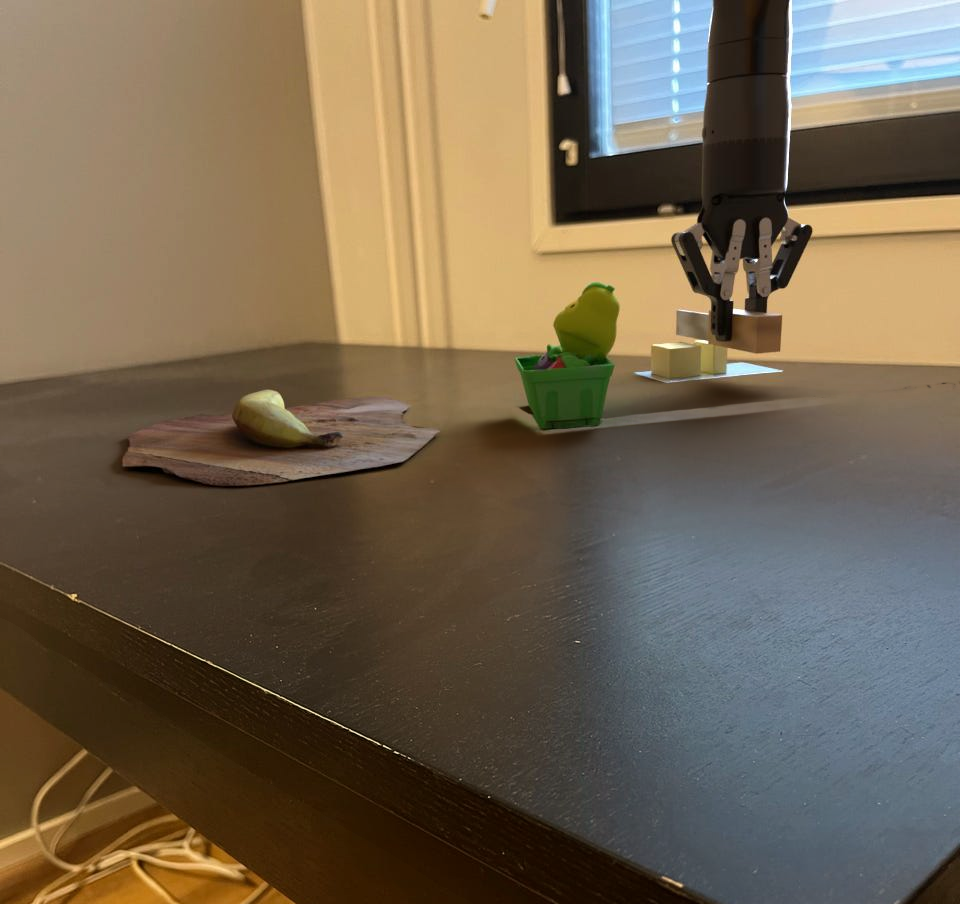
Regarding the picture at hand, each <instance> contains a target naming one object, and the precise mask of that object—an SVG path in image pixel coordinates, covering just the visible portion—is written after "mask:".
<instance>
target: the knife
mask: <svg viewBox="0 0 960 904" xmlns="http://www.w3.org/2000/svg"><path fill="white" fill-rule="evenodd" d="M675 316H676V317H675V318H676V319H675V320H676V322H675V326H676V327H675V335H676V336H680V337H685V338H690V339H695V340H705V341H708V344H711V345H716V346H721V347H726V348H727V349H731V350H737V351H742V352H746V353H751V354H757V355H759V354H771V353H778V352H779V353H780V352H781V348H782V347H781V346H782V331H783V330H782V328H783V314H778V313H771V312H767V313H764V312H756V311H747V310H745V309H738V308H733V316H732V338H731V341H728V342H721V341H717V340H716V338H715V335H712V332H711V309H709V310H708V313H706V312H701V311H700V312H699V311H692V310H685V309H676V313H675Z"/></svg>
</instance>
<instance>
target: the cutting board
mask: <svg viewBox="0 0 960 904" xmlns="http://www.w3.org/2000/svg"><path fill="white" fill-rule="evenodd" d="M410 407H411V405H410V404H407V403H405V402H401V401H400V400H395V399H392V398H390V397H384V396H383V397H382V396H360V397H359V396H358V397H348V398H347V397H345V398H339V399H334V400H328V401H322V402H316V403H309V404H304V405H296V406H291V407H285V402H284V400H283V397H282V396H281V394H280V393H279V392H278V391H276V390H273V389H262V390H258V391H254V392H252V393H251V392H250V393H248V394H245V395H244V396H242V397H241V398H240V399H239V400H238V402H237V403H236V404H235V406H234V409H233V412H232V413H227V414H196V415H193V416H189V417H181V418H176V419H170V420H164V421H162V422H159V423H156V424H153V425H150V426H147V427H145V428H143V429H140V430H137V431H134V432H132V433H130V434H128V435H126V438H127V439H128V441H129V445H128V448H127V450H126V452H125V453H124V455H123V456H122V467H126V468H127V467H128V468H137V467H156V468H161V469H162V471H163V472H164V473H166V474H169V475H176V476H177V477H178V478H180V479H185V480H187V481H195V482H198V483H201V484H204V485H211V486H216V487H229V486H237V487H249V486H255V485H256V486H257V485H268V484H275V483H276V484H277V483H286V482H292V481H295V480H301V479H305V478H313V477H319V476H326V475H332V474H333V475H334V474H341V473H346V472H353V471H359V470H364V469H372V468H378V467H384V466H388V465H392V464H397V463H403V462H405V461H406V460H408V459H409V458H411V456H413V455H414V454H416V453H417V452H418V451H419V450H421V449H422V448H423V447H424V446H425V445H427V444H428V442H430V440H432V439H433V438H434V436H435V435H436V434H438V433H440V432H442V430H441V429H440V430H439V429H436V428H431V427H425V426H424V427H423V426H417V425H410V424H407V423H403V417H404V414H403V412H405V411H407V410H409V409H410ZM407 408H408V409H407Z"/></svg>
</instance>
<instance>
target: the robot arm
mask: <svg viewBox="0 0 960 904" xmlns="http://www.w3.org/2000/svg"><path fill="white" fill-rule="evenodd" d="M792 22H793V21H792V0H712V12H711V17H710V24H709V32H708V39H707V40H708V41H707V67H706V69H707V70H706V72H707V73H706V74H707V75H706V76H707V77H706V83H707V85H706V93H705V101H704V108H703V119H702V122H703V123H702V130H701V139H702V165H701V200H702V201H701V202H702V205H701V209H700V212H699V213H698V215H697V218H696V223H695V224H693V225H691V226H690V227H688V228H687V229H685V230H684V231H681V232H675V233H673V234H672V235H671V238H670V240H671V241H670V242H671V245H672V247H673V249H674V251H675V254H676V256H677V258H678V261H679V263H680V265H681V267H682V269H683V272H684V275H685V277H686V279H687V281H688V283H689V285H690V288H691V291H693V293H695V294H699V295H702V296H705V297H707V298H709V300H710V310H711V332H712V335H715V338H716V340H717V341H721V342H728V341H731V338H732V316H733V309H734V302H735V301H734V300H732V299H731V298H732V297H733V293H734V286H735V280H736V279H735V278H736V274H737V273H738V272H739V269H740V261H741V260H742V268H743V272H744V273H745V279H746V292H747V294H748V297H745V298H744V310H747V311H756V312H764V313H768V300H769V297H770V295H771V294H772V293H774V292H776V291H778V290H780V289H781V290H783V289H786V288H787V287H788V285H789V283H790V281H791V279H792V277H793V275H794V273H795V271H796V268H797V267H798V264H799V263H800V260H801V258H802V256H803V254H804V252H805V250H806V248H807V245H808V243H809V242H810V239H811V237H812V235H813V232H814V231H813V227H812V225H810V224H801V223H799V222H797V221H795V220H793V218H790V217H789V210H788V208H787V206H786V202H785V195H786V192H787V187H788V173H789V154H790V153H789V152H790V136H791V120H792V119H791V116H792V100H791V99H792V98H791V83H790V82H791V81H790V80H791V79H790V78H791V77H790V75H791V61H792V60H791V57H792V40H793V24H792ZM779 235H780V237H779ZM778 237H779V242H780V246H779V248H778V250H777V252H776V254H775V257H774V259H773V252H772V251H773V250H772V249H773V248H772V246H773V245H774V243H775V242H776V240H777V239H778ZM703 239H704V240H705V241H706V243H707V244H708V247H709V248H710V250H711V259H710V266H709V267H708V265H707V262H706V261H705V258H704V255H703V254H702V251H701V250H702V249H703V246H704V245H703Z"/></svg>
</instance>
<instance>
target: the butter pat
mask: <svg viewBox="0 0 960 904" xmlns="http://www.w3.org/2000/svg"><path fill="white" fill-rule="evenodd" d="M693 344H694V345H699V346H701V371H702V372H706V373H710V374H724V373H727V364H728V348H726V347H721V346H716V345H711V344H708V341H705V340H699V339H697V340H694V341H693Z"/></svg>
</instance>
